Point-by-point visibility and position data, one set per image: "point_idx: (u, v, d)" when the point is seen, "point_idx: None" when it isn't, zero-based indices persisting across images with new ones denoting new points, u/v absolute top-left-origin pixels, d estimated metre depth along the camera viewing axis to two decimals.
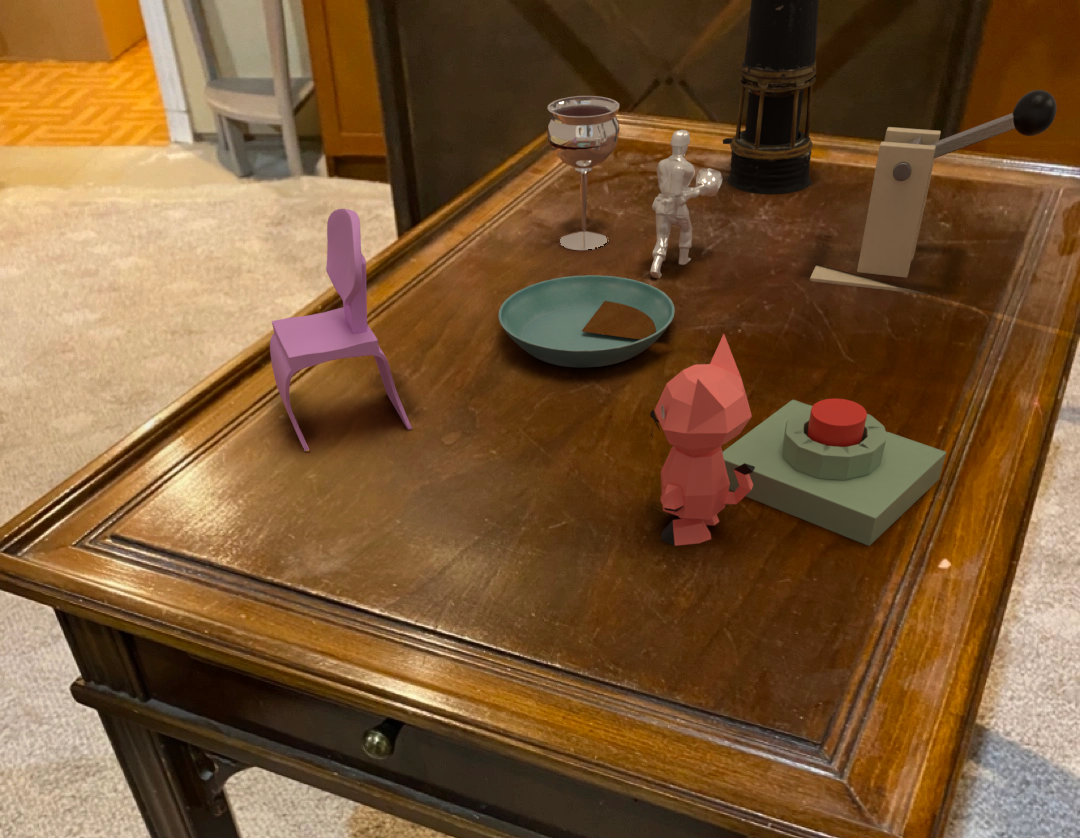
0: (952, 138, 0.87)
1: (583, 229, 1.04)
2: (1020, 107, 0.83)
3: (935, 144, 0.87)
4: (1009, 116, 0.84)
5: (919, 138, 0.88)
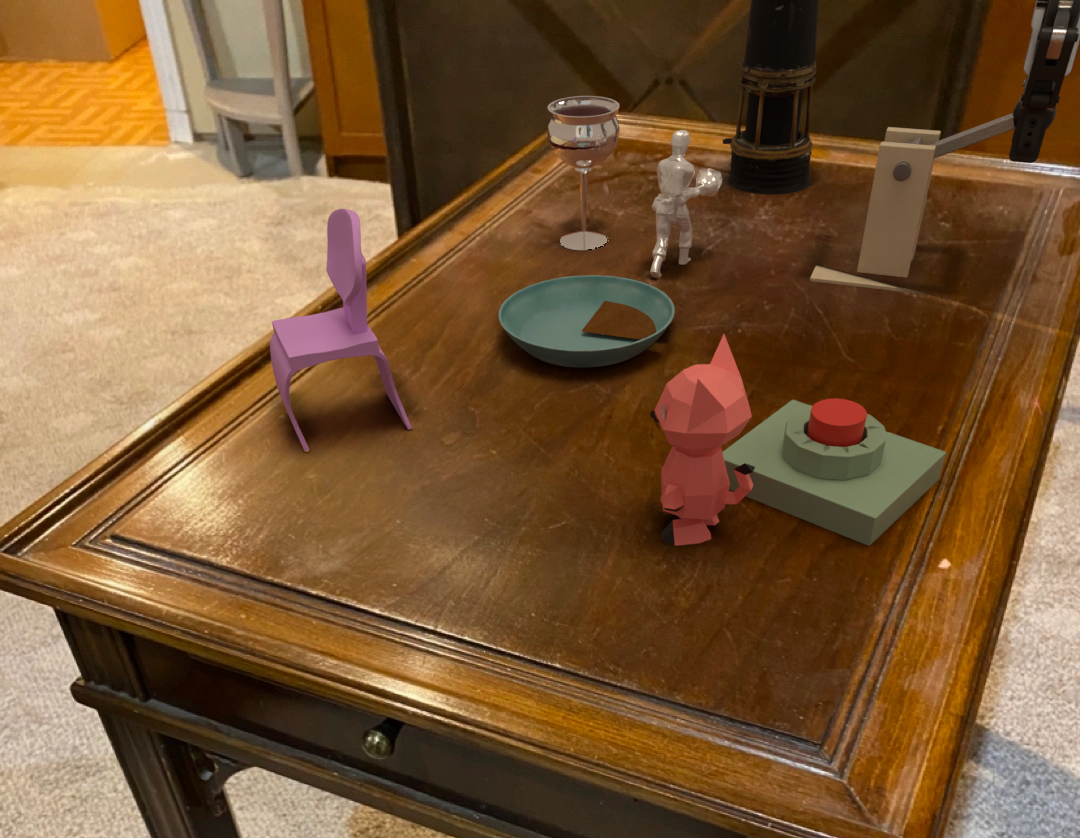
0: (952, 138, 0.87)
1: (583, 229, 1.04)
2: None
3: (935, 144, 0.87)
4: (1009, 116, 0.84)
5: (919, 138, 0.88)
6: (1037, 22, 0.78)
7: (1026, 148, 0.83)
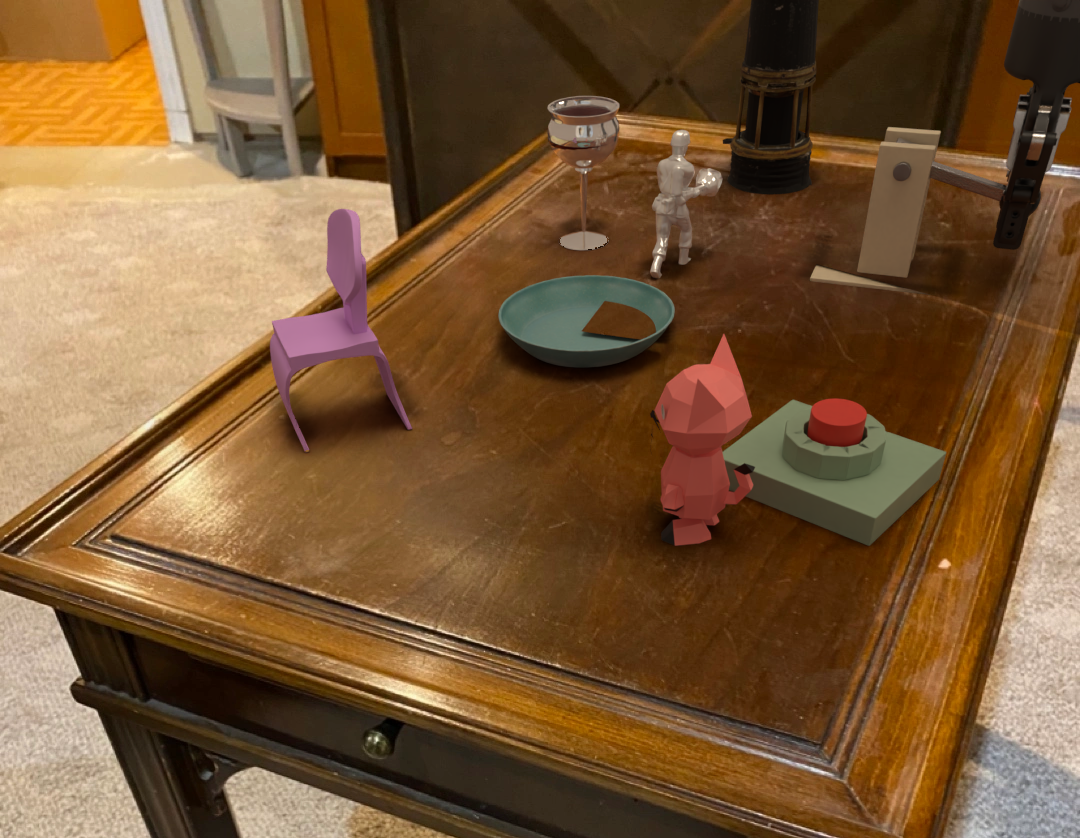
0: (952, 171, 0.88)
1: (583, 229, 1.04)
2: None
3: (937, 165, 0.88)
4: (1002, 187, 0.88)
5: None
6: (1019, 123, 0.83)
7: (1009, 237, 0.88)
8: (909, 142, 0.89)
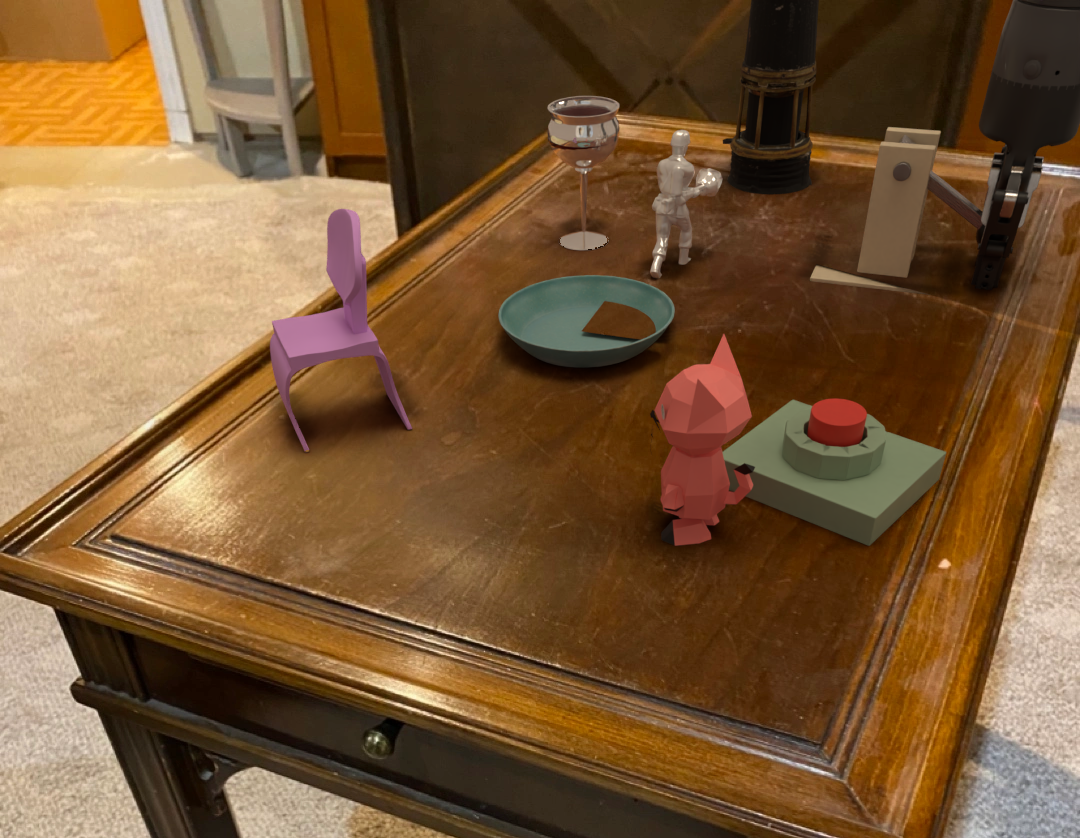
0: (945, 185, 0.89)
1: (583, 229, 1.04)
2: None
3: (933, 175, 0.89)
4: None
5: None
6: (993, 180, 0.86)
7: None
8: (914, 143, 0.89)
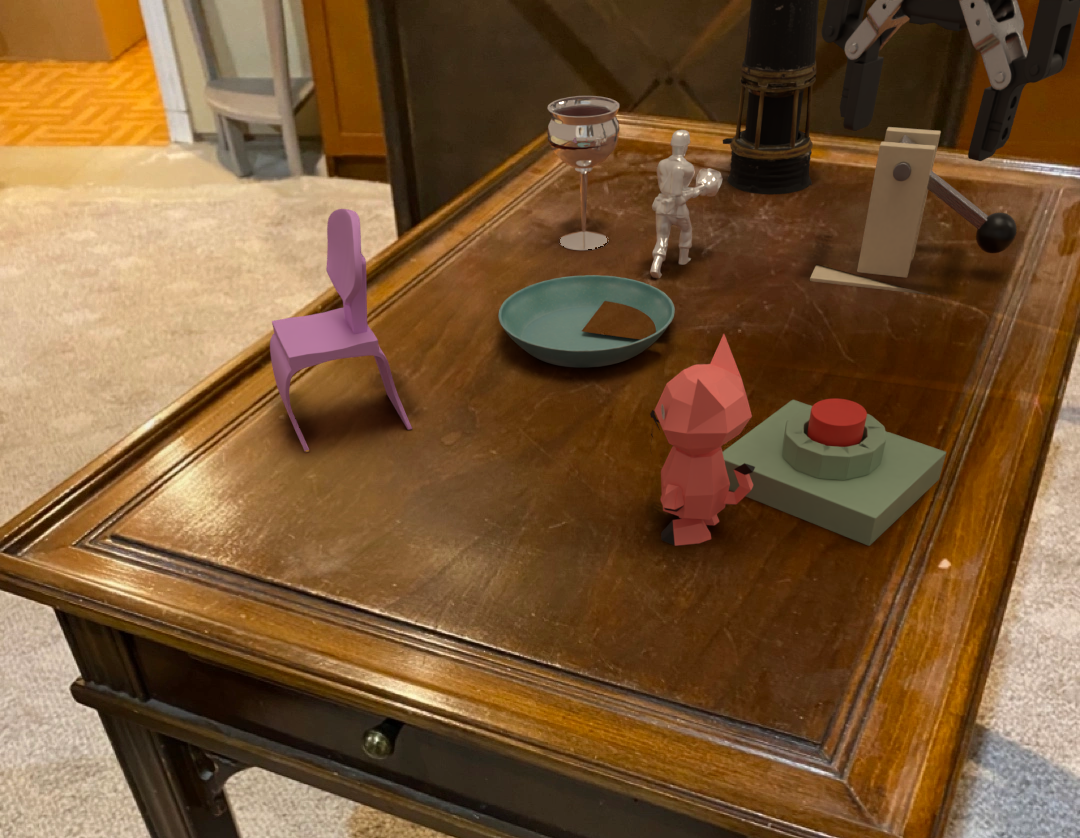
0: (945, 185, 0.89)
1: (583, 229, 1.04)
2: (997, 221, 0.89)
3: (933, 175, 0.89)
4: (984, 216, 0.90)
5: None
6: None
7: (1001, 138, 0.60)
8: (914, 143, 0.89)
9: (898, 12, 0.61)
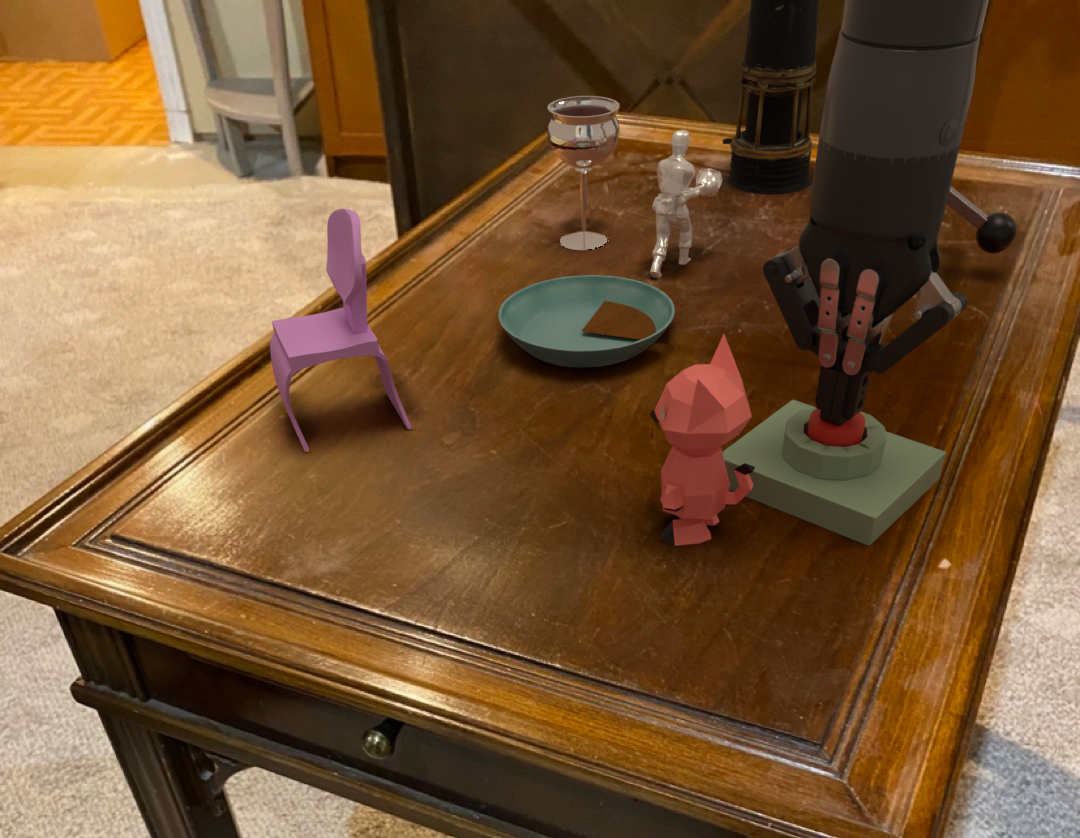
0: None
1: (583, 229, 1.04)
2: (997, 221, 0.89)
3: None
4: (984, 216, 0.90)
5: None
6: (878, 292, 0.61)
7: (857, 407, 0.68)
8: None
9: None
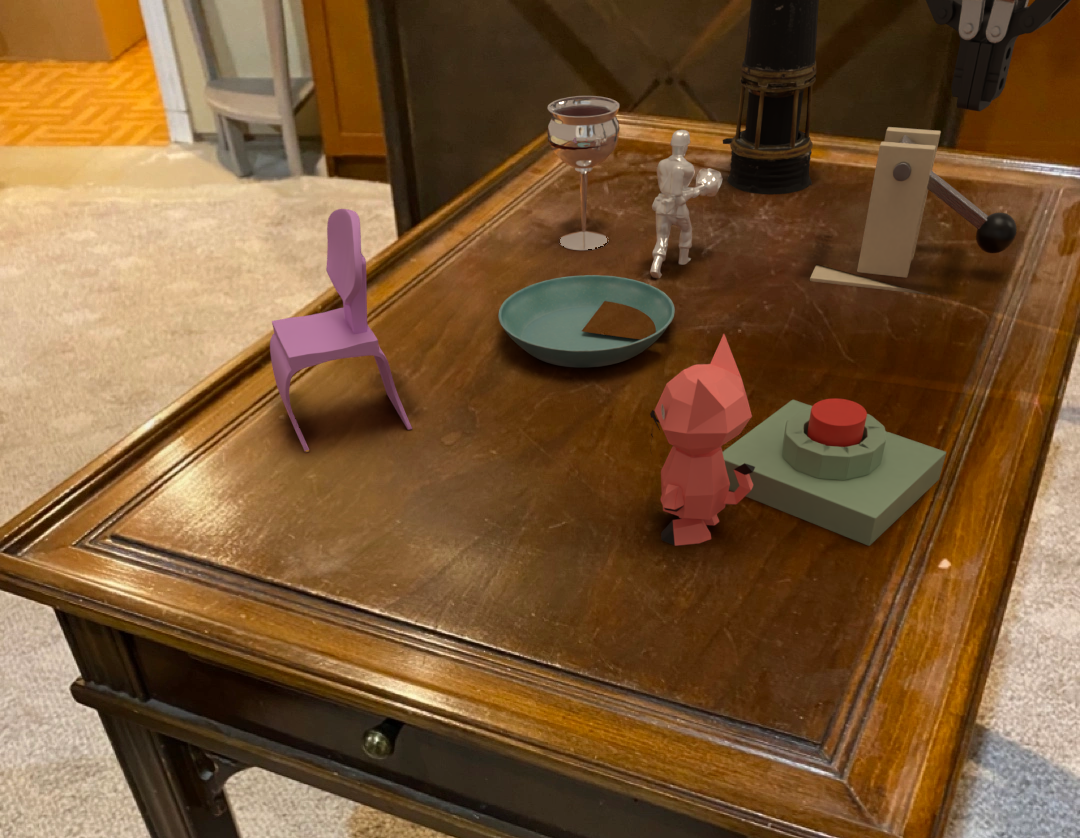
0: (945, 185, 0.89)
1: (583, 229, 1.04)
2: (997, 221, 0.89)
3: (933, 175, 0.89)
4: (984, 216, 0.90)
5: None
6: None
7: None
8: (914, 143, 0.89)
9: None
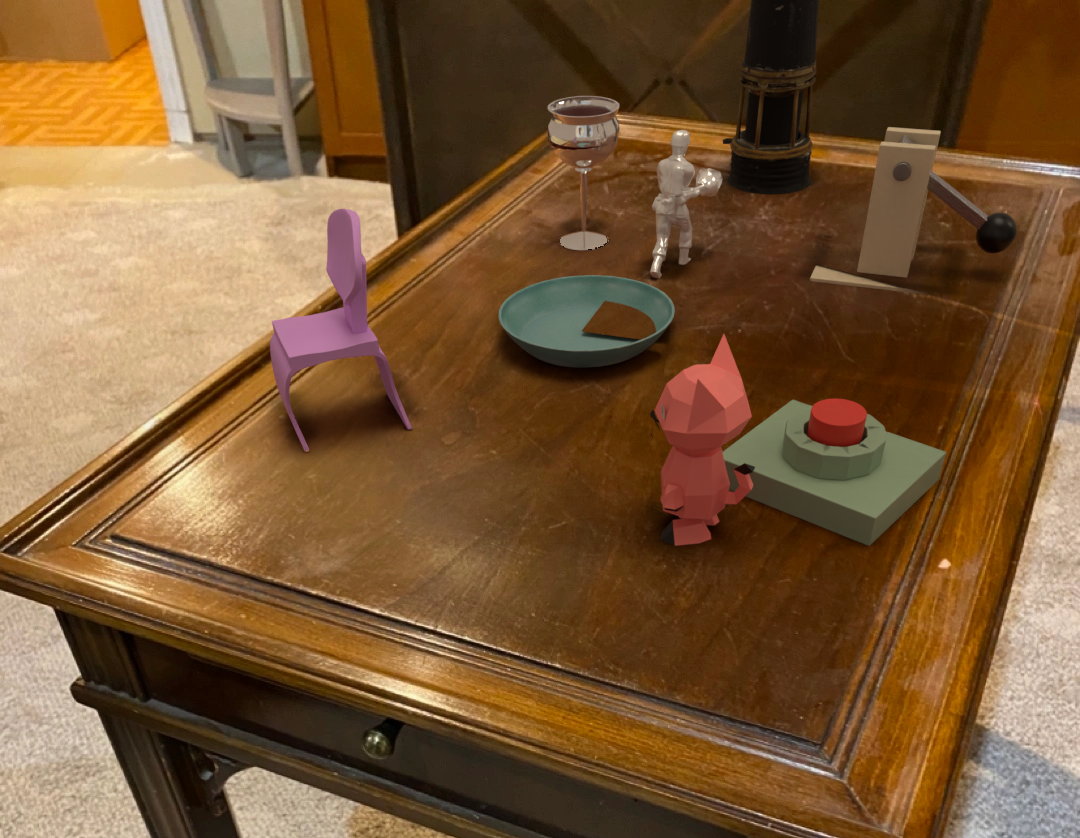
0: (945, 185, 0.89)
1: (583, 229, 1.04)
2: (997, 221, 0.89)
3: (933, 175, 0.89)
4: (984, 216, 0.90)
5: None
6: None
7: None
8: (914, 143, 0.89)
9: None
